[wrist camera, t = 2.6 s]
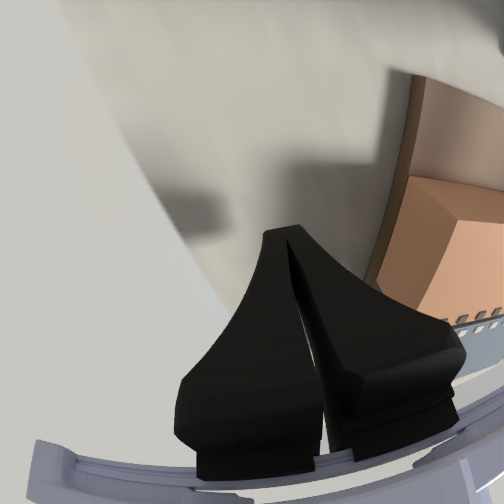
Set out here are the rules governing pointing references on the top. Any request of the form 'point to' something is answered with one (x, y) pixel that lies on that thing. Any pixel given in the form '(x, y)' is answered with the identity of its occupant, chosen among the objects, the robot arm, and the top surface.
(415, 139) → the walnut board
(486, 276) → the tan rectangular block
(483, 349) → the block
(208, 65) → the top surface
